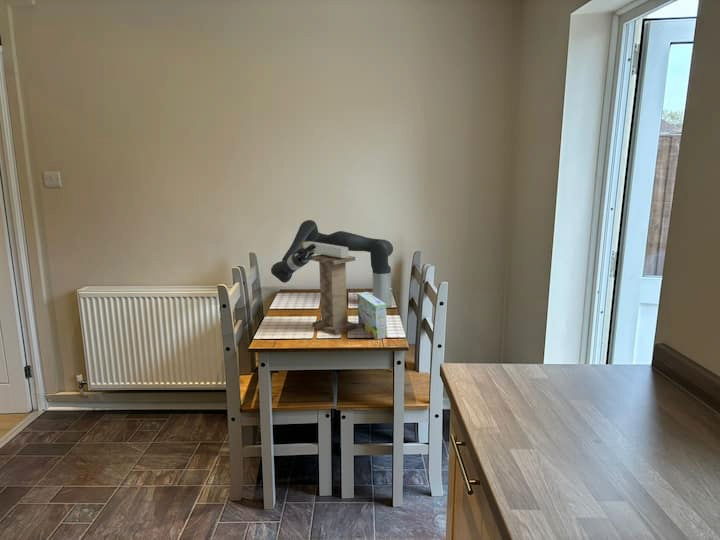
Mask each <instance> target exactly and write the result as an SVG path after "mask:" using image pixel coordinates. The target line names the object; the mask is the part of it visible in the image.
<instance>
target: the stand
mask: <svg viewBox="0 0 720 540" xmlns="http://www.w3.org/2000/svg"><path fill="white" fill-rule="evenodd" d="M310 261H313V262H318V263H319V264H318V265H319V266H318V267H319V290H320V291H319V292H320V314H321V315H320V316H321V317H320V320H317V321H313V322H311V323H312V325H311V326H312V327H313V328H315V329H317V330H320V331H324V332H327V333H329V334H332V335H334V336H338V335H340V334H345V333H347V332H349V331H352V330H356V329H357V327H358V326H357V325H358V324H357V323H355V322H351V321H349V320H348V312H347V311H348V308H347V306H348V305H347V275H346V274H347V271H346V268H347V267H346V263H350V262H354V261H355V262H356V257H355V256H353V255H352V256H351V255H348V257H344V258H338V257H333V256H327V255H322V254H314V255H313V256H310Z"/></svg>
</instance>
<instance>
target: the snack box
mask: <svg viewBox="0 0 720 540" xmlns="http://www.w3.org/2000/svg"><path fill="white" fill-rule="evenodd" d="M356 297H357V298H356V299H357V300H356V301H357V318H358V322H357V323H358V324H357V325H359V327H360V328H361V329H363V330H364V331H365V332H367V334H369V335H370V336H371V337H372V338H373V340H376V341H377V340H378V341H379V340H383V339H387V338H388V333H387V332H388V330H387V329H388V328H387V326H388V325H387V322H388V320H387V307H386V304H385V303H383V302H382V301H380V300H379V299H377V298H376V297H374V296H373V294H371V293H370V292H369V291H365V292H357V293H356Z"/></svg>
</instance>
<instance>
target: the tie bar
mask: <svg viewBox="0 0 720 540" xmlns="http://www.w3.org/2000/svg"><path fill="white" fill-rule="evenodd" d="M302 244H303V248H306V247H308V246H310V245H311V244H314V246H315V248H314V249H313V250H312V251H310V252H311V253H316V254H315V255H321V254H322V255H327V256H333V257H338V258H344V257H348V256H349V251H348V247H343V246H337V245H331V244H324V243H318V242H311V241H307V242H302Z"/></svg>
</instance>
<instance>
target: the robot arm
mask: <svg viewBox="0 0 720 540" xmlns="http://www.w3.org/2000/svg"><path fill="white" fill-rule="evenodd" d="M307 241H311V242H318V243H324V244H331V245H337V246H343V247H348V252H367V253H370V267H371V269H372V295H373V296H374V297H376V298H377V299H379V300H380V301H382V302H383V303H385V304H386V308H387V307H392V301H393V300H392V298H393V297H392V295H393V294H392V292H393V291H392V286H391V285H392V274H391V273H392V267H391V266H390V265H389V257H390V256H392V253H393V252H394V247H393V244H392V243H391V242H390V241H389V240H386V239H380V238H371V237H366V236H363V235H360V234H357V233H351V232H348V231H344V230H343V231H342V230H339V231H335V232H333V233H330V234H329V233H328V234H326V233H321V232H319V230H318V225H317V223H316V221H314V220H313V219H306V220H304V221H303V222H302V223H301V224H300V226H299V227H298V230H297V233H296V234H295V237H294V238H293V242H292V243H291V244H290V247H289V249H288V250H287V251H286V253H285V254H284V255H283V257H282V260H281V261H278V262H276V263H274V264H272V266H271V269H270V273H271V275H272V276H274V277H276V278H277V279H278V280H279V281H280V282H282V283H283V284H286V283H288V282H290V280H291V279H292V276H293V273H295V272H296V271H298V270H299V269H302V268H303V267H304V266H305V265H308V263H309V262H310V261H311V260H310V256H315V255H317V254H316V253H311V252H310V251H312V250H313V249H314V248H315V246H314V244H311V245H310V246H308V247H306V248H303V244H302V242H307Z"/></svg>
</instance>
